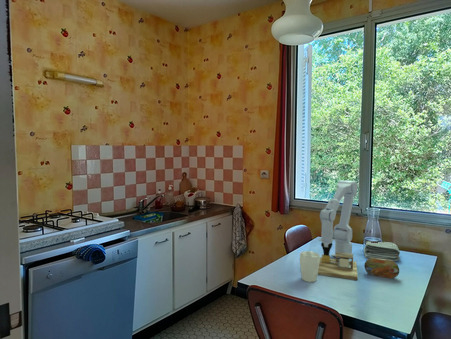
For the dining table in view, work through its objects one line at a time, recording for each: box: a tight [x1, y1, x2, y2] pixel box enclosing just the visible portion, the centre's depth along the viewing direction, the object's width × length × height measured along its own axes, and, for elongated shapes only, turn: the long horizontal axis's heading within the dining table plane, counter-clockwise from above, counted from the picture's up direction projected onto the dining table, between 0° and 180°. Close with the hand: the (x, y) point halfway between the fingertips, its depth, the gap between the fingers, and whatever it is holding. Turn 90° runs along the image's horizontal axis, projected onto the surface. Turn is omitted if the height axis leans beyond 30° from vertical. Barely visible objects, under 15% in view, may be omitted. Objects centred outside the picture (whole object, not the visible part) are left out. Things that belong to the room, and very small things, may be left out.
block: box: [339, 257, 350, 267], centre depth 156 cm, size 4×4×4 cm
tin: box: [363, 258, 400, 279], centre depth 148 cm, size 15×3×8 cm, turn 62°
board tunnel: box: [317, 252, 359, 281], centre depth 157 cm, size 22×19×8 cm
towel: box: [363, 241, 401, 262], centre depth 178 cm, size 15×18×8 cm
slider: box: [321, 253, 351, 269], centre depth 158 cm, size 6×14×4 cm, turn 68°
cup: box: [299, 250, 320, 283], centre depth 143 cm, size 9×9×12 cm
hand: (326, 256), depth 165 cm, fingers closed
